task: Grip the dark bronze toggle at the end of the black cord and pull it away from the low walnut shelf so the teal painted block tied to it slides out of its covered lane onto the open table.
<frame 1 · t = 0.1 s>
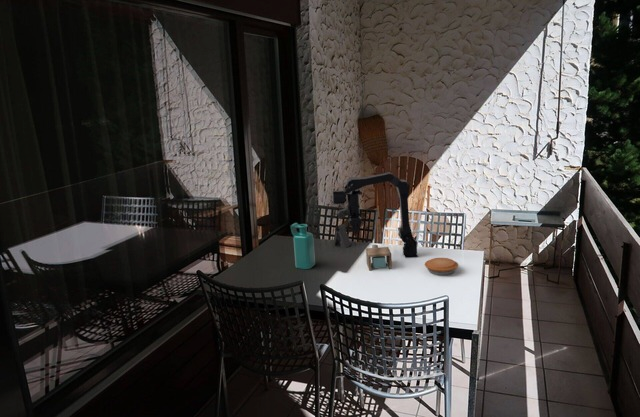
hand: (355, 232, 264), 14 cm above the table, fingers open, 9 cm apart
phone stand: (341, 246, 290), on the table
pie: (441, 271, 244), on the table
tethered block: (377, 255, 261), point 3 cm above the table, slide at 0.0 cm
teal bottle: (304, 266, 263), on the table
walnut shelf: (379, 266, 256), on the table
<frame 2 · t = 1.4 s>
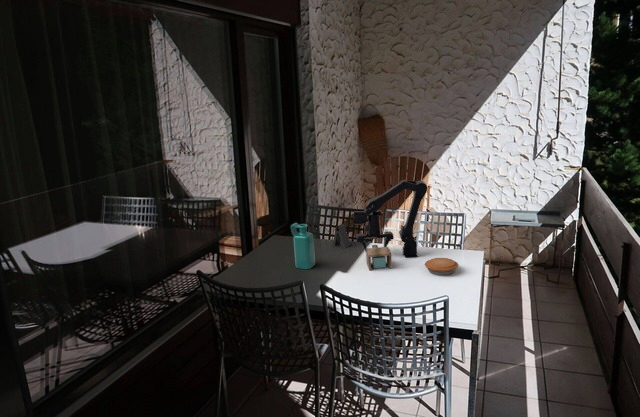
hand: (375, 252, 268), 3 cm above the table, fingers open, 9 cm apart
nothing on the table moved.
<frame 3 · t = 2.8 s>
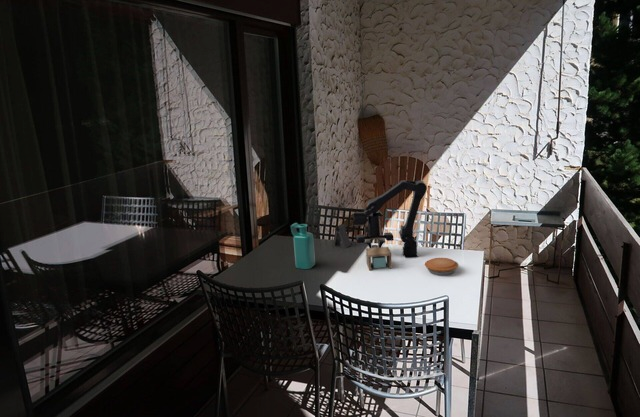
hand: (375, 253, 268), 2 cm above the table, fingers closed on tethered block, 3 cm apart
tethered block: (377, 255, 261), point 3 cm above the table, slide at 0.0 cm, touching gripper
everything else where it was.
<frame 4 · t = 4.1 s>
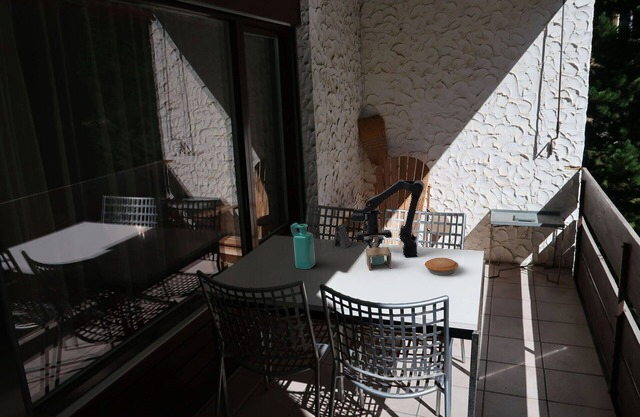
hand: (374, 250, 273), 2 cm above the table, fingers closed on tethered block, 3 cm apart
tethered block: (375, 252, 265), point 3 cm above the table, slide at 4.6 cm, touching gripper
everything else where it was.
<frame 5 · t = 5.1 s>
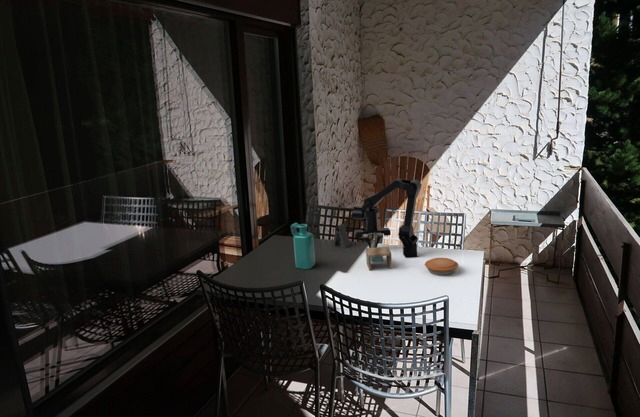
hand: (373, 248, 277), 2 cm above the table, fingers closed on tethered block, 3 cm apart
tethered block: (374, 250, 270), point 3 cm above the table, slide at 8.8 cm, touching gripper
everything else where it was.
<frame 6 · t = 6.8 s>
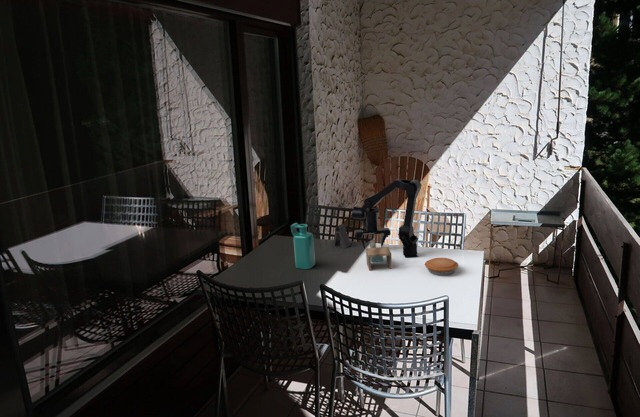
hand: (373, 247, 277), 2 cm above the table, fingers open, 9 cm apart
tethered block: (374, 250, 270), point 3 cm above the table, slide at 8.9 cm
everything else where it was.
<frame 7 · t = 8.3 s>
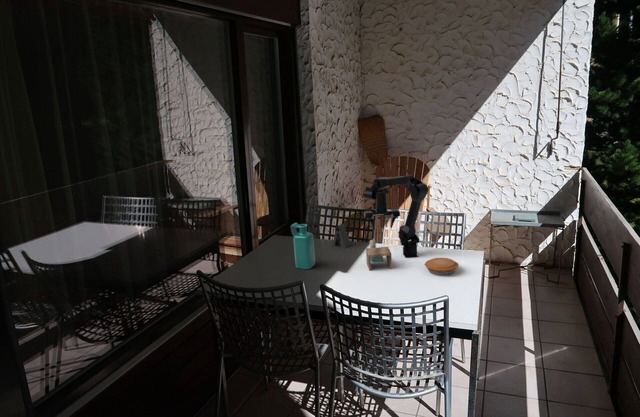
hand: (382, 229, 278), 11 cm above the table, fingers open, 9 cm apart
nothing on the table moved.
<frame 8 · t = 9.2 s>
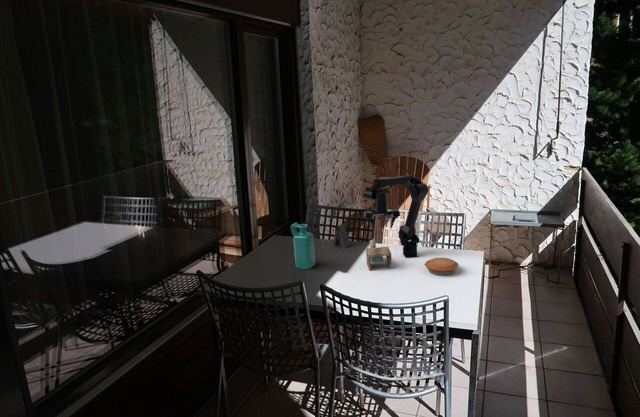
hand: (382, 229, 278), 11 cm above the table, fingers open, 9 cm apart
nothing on the table moved.
at the end: tethered block slide at 8.9 cm; the gripper is holding nothing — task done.
